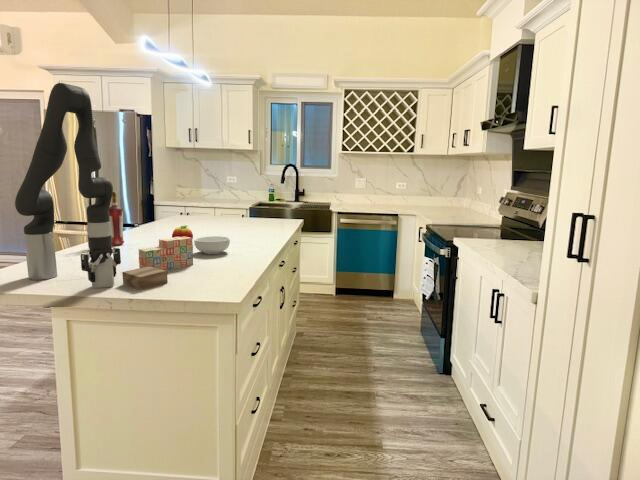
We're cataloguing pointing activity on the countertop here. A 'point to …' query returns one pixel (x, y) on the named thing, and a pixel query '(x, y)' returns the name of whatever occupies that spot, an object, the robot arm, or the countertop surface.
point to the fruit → (182, 232)
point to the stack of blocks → (168, 254)
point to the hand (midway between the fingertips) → (102, 279)
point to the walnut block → (144, 277)
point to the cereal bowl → (212, 244)
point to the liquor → (116, 221)
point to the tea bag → (104, 275)
